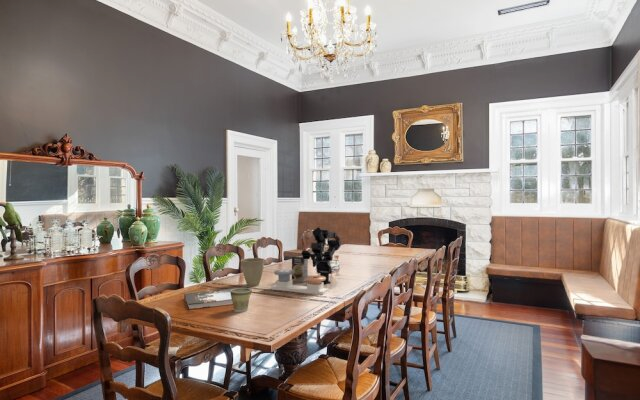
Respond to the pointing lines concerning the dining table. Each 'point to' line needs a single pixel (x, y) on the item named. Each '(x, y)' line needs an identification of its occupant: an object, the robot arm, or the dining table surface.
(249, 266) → the plant pot
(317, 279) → the brown round domed piece
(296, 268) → the coffee box
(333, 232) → the robot arm
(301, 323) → the dining table surface
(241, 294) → the ceramic cup
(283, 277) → the two dot key
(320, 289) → the key console
